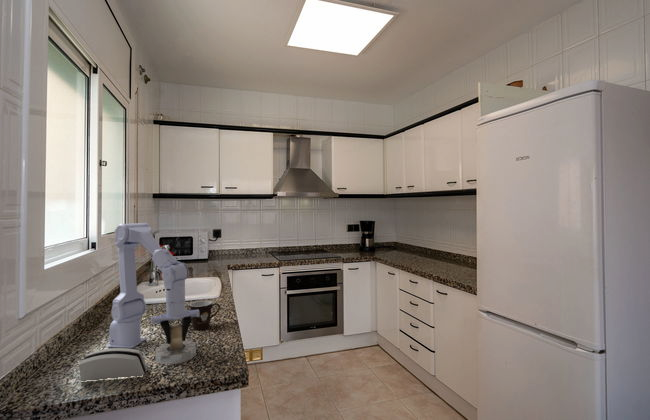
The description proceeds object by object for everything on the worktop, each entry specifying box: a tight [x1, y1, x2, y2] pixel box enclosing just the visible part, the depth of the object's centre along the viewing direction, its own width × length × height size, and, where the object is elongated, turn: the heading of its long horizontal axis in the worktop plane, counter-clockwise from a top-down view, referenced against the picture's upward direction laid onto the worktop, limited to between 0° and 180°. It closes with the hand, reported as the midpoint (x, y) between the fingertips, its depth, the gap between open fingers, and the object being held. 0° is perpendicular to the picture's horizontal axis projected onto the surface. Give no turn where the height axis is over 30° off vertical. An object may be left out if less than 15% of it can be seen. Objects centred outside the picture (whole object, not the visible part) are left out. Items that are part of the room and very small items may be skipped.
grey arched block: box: [79, 347, 149, 382], centre depth 94 cm, size 17×5×10 cm, turn 99°
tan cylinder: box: [170, 323, 183, 350], centre depth 108 cm, size 4×4×7 cm
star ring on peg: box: [155, 339, 197, 365], centre depth 108 cm, size 12×12×3 cm
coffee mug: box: [189, 300, 221, 332], centre depth 135 cm, size 12×9×10 cm
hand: (176, 341), depth 108 cm, fingers closed on tan cylinder, 4 cm apart
